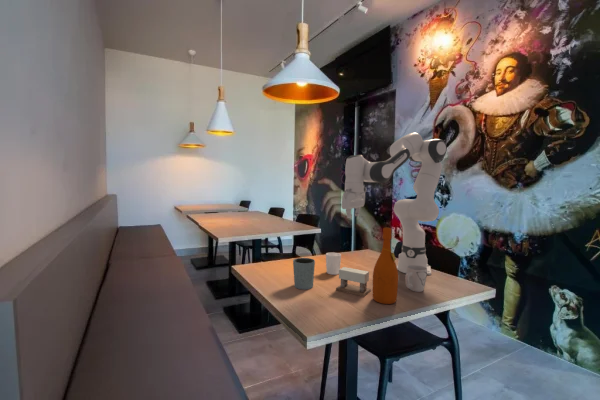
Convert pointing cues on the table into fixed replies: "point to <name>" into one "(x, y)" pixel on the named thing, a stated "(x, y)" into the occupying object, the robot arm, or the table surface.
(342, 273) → the white rectangular block
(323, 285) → the table surface
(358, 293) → the peg stand
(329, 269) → the white cup
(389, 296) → the wine bottle
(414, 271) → the mug
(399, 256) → the robot arm
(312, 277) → the dark grey cup
